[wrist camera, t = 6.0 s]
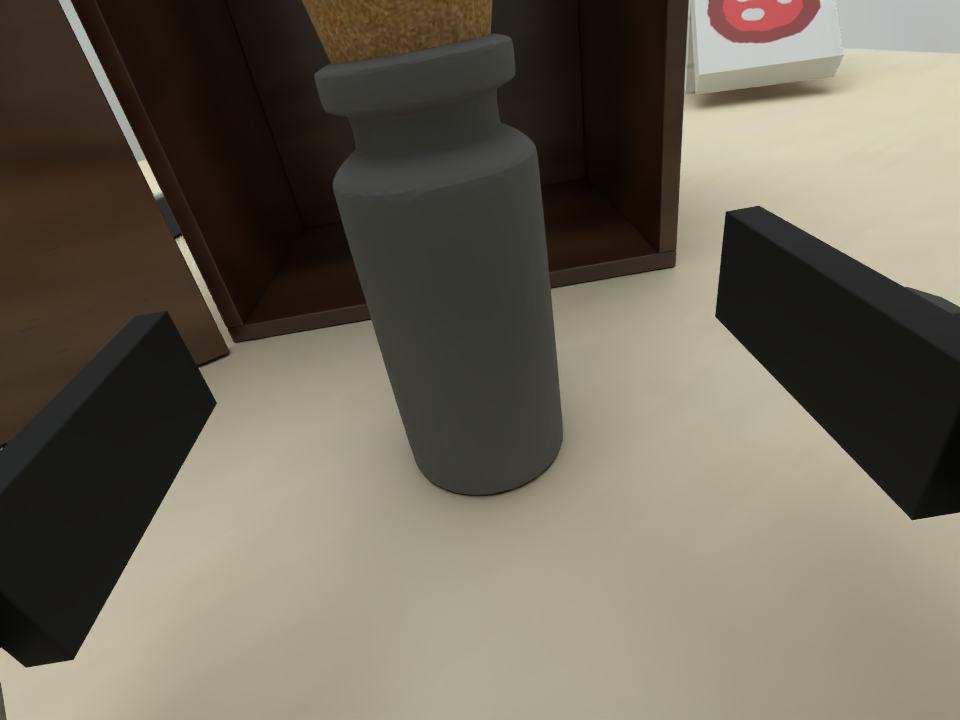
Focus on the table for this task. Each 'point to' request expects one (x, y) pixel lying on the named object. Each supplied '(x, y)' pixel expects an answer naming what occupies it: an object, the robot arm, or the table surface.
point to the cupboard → (330, 141)
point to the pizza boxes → (760, 43)
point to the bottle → (446, 234)
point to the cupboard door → (73, 222)
